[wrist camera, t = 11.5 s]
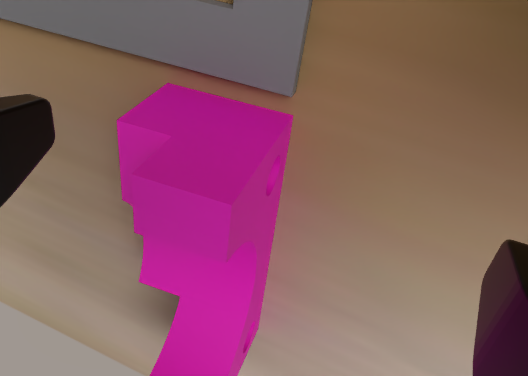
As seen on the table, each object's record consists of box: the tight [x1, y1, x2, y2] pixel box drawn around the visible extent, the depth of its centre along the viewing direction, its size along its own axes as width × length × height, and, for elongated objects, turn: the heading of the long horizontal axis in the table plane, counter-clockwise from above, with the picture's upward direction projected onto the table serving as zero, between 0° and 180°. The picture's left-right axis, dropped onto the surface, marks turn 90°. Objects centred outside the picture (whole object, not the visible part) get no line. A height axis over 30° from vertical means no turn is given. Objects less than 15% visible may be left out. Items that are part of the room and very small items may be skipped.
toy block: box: [117, 83, 293, 376], centre depth 24 cm, size 15×6×8 cm, turn 173°
